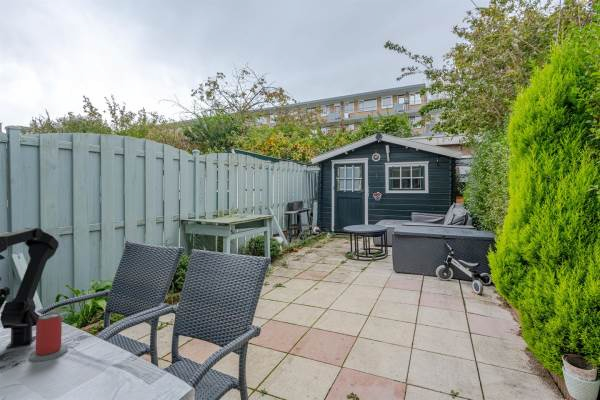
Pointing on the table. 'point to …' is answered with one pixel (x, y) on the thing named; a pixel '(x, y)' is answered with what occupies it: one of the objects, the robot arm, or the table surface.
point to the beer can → (48, 334)
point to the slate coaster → (37, 358)
